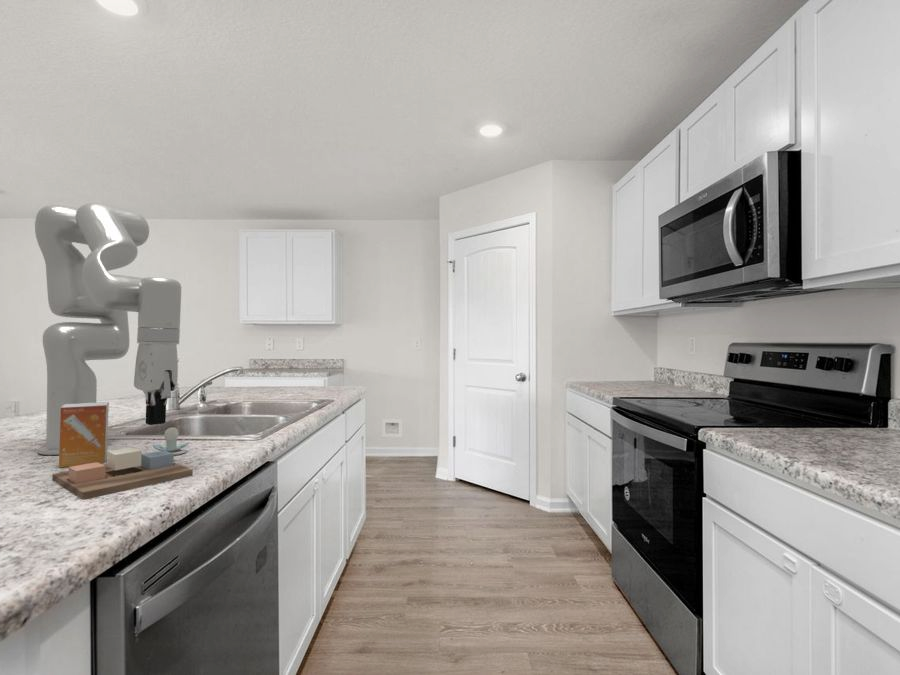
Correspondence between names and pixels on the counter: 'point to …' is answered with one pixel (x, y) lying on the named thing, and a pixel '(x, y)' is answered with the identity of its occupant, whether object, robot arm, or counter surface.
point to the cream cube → (123, 458)
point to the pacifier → (171, 442)
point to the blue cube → (157, 460)
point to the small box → (83, 433)
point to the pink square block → (86, 473)
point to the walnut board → (122, 479)
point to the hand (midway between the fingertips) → (155, 423)
